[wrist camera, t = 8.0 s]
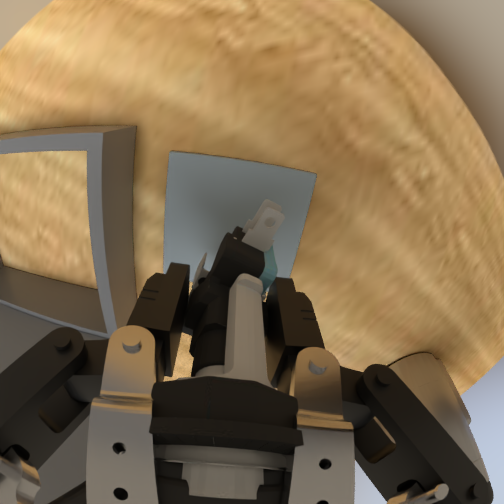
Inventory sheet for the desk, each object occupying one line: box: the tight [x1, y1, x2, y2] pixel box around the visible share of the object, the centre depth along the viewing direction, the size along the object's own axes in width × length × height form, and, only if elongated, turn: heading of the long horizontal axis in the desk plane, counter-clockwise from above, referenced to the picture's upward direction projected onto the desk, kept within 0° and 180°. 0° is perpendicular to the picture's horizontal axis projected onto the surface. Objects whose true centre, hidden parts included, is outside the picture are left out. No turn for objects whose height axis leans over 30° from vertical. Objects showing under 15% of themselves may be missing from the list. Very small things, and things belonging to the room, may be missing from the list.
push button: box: [149, 199, 304, 499], centre depth 8 cm, size 7×5×10 cm
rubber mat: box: [164, 151, 317, 292], centre depth 16 cm, size 8×8×1 cm
